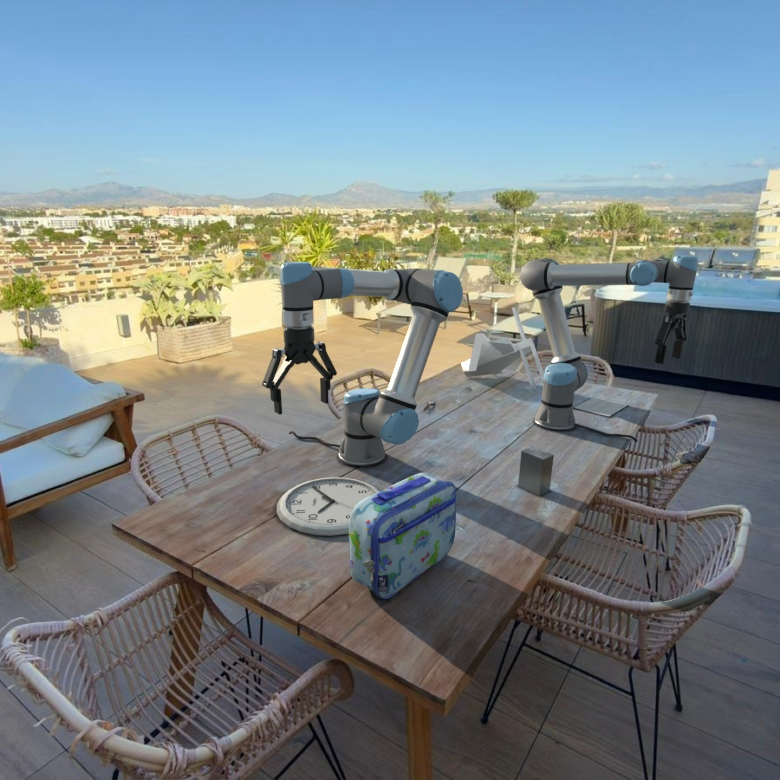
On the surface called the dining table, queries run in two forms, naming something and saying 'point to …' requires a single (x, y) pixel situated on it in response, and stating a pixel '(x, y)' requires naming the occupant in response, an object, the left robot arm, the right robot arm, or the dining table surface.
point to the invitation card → (601, 406)
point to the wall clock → (323, 505)
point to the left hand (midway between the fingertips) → (302, 407)
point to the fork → (430, 403)
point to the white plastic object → (500, 355)
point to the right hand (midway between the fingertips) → (667, 360)
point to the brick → (535, 470)
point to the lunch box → (401, 532)
